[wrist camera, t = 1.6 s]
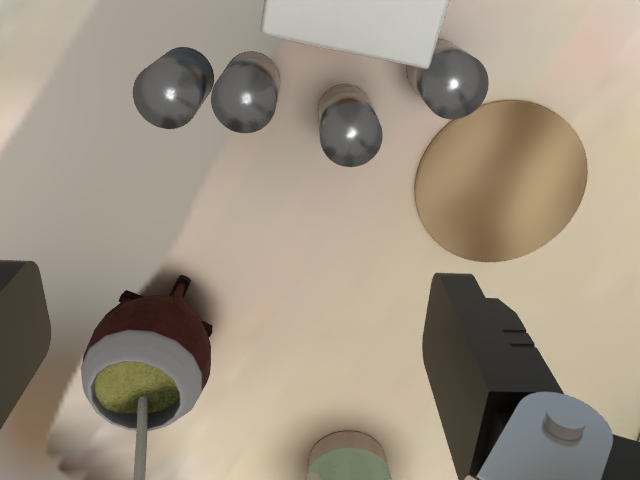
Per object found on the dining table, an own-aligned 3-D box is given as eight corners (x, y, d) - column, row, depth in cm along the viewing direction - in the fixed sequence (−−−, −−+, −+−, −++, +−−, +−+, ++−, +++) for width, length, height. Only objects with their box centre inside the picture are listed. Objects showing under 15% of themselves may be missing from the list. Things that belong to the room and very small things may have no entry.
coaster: (595, 94, 32) (600, 96, 31) (570, 252, 36) (574, 256, 36) (416, 106, 32) (418, 109, 31) (413, 262, 36) (415, 267, 36)
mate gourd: (135, 248, 36) (33, 428, 22) (250, 298, 37) (220, 492, 24) (97, 335, 38) (-15, 541, 25) (205, 377, 40) (155, 590, 27)
